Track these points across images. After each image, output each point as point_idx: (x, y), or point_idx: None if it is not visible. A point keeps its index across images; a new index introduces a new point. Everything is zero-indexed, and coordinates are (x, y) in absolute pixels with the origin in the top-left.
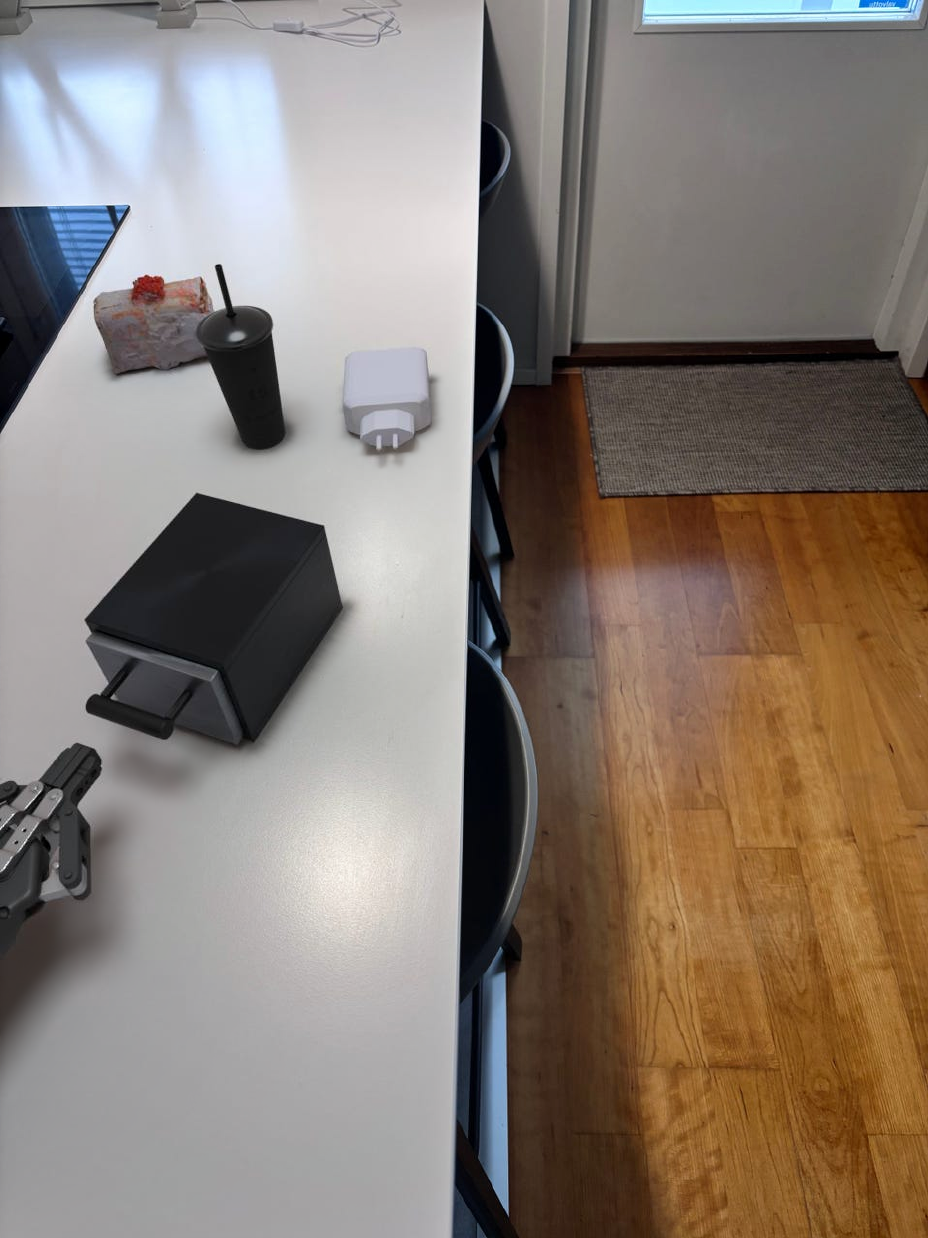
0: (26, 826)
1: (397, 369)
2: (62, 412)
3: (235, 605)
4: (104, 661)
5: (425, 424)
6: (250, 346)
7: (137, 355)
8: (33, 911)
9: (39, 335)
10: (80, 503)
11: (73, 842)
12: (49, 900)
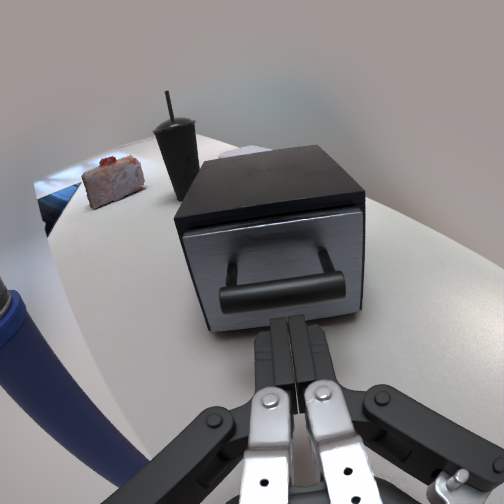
0: (344, 462)
1: (251, 149)
2: (72, 227)
3: (316, 171)
4: (204, 263)
5: None
6: (189, 125)
7: (104, 194)
8: None
9: (54, 215)
10: (96, 249)
11: (448, 427)
12: None
